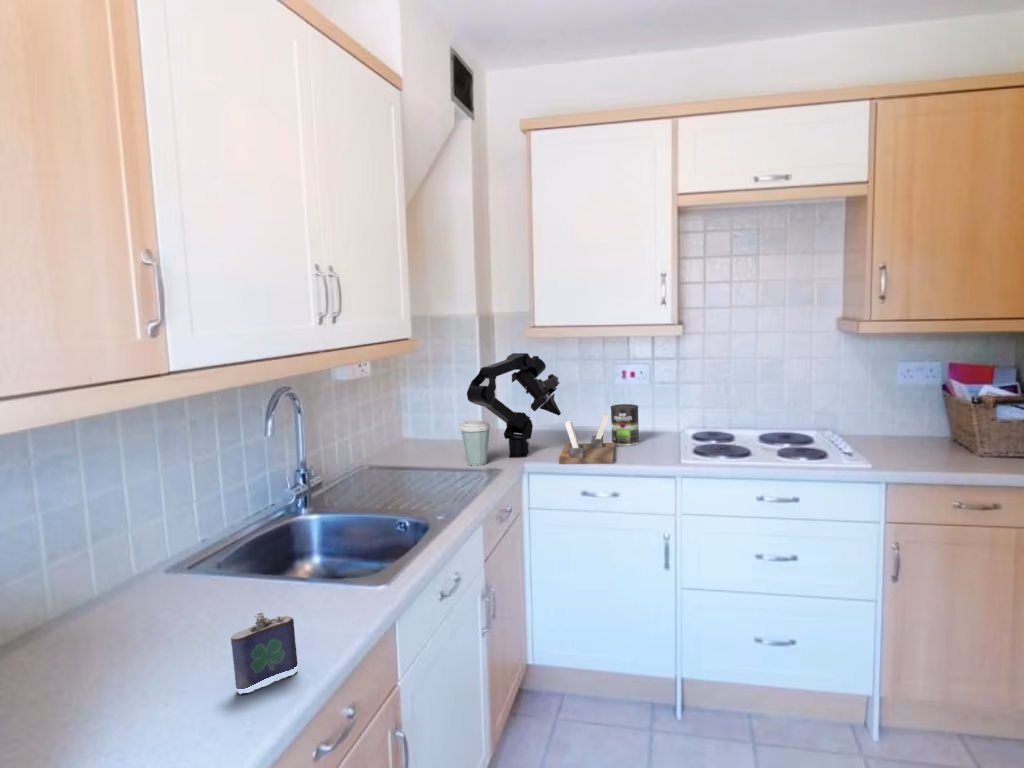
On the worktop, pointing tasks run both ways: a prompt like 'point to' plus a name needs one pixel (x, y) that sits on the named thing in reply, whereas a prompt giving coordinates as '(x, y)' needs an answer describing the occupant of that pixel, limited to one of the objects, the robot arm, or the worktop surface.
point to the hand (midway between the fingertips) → (560, 414)
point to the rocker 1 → (572, 434)
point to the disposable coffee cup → (475, 441)
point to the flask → (263, 650)
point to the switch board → (588, 453)
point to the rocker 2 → (602, 426)
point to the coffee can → (624, 424)
